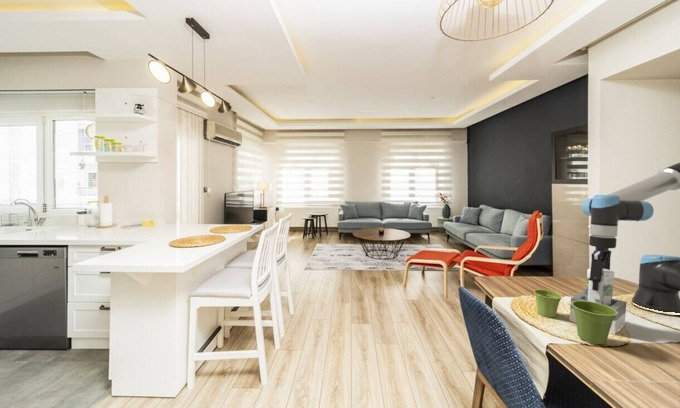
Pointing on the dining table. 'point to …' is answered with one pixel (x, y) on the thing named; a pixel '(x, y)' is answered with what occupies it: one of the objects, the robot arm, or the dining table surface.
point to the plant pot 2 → (593, 321)
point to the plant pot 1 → (547, 302)
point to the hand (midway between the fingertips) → (598, 296)
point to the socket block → (616, 304)
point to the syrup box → (606, 287)
